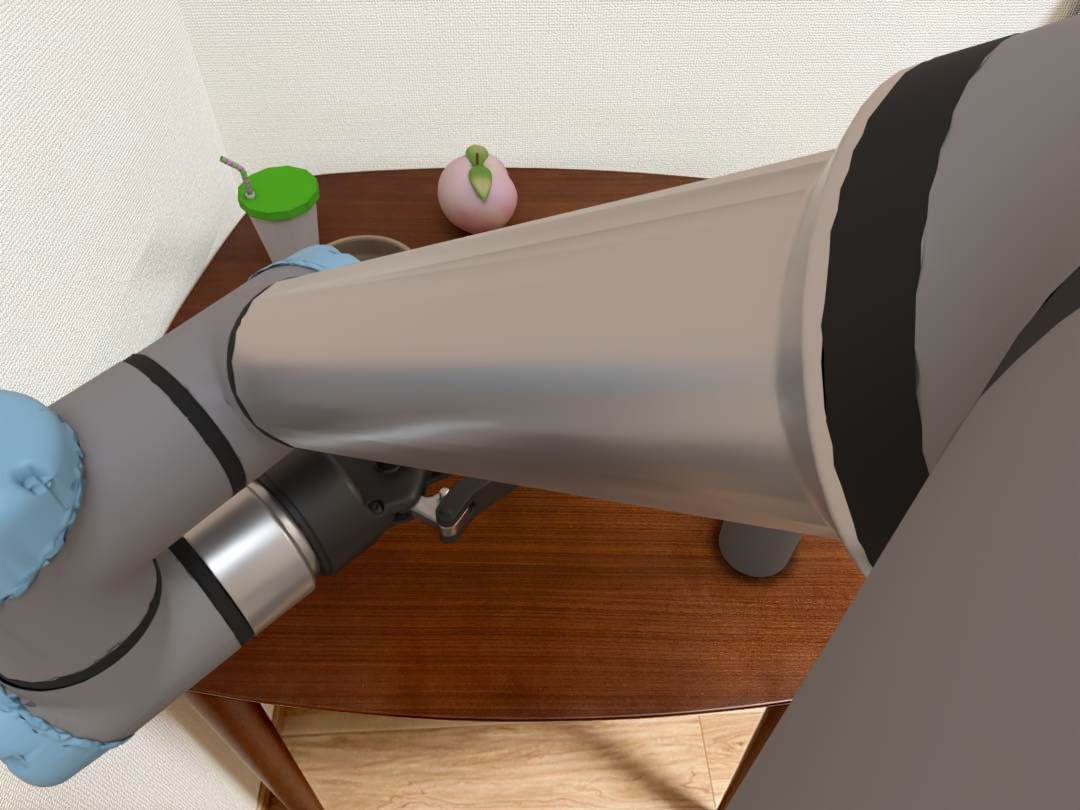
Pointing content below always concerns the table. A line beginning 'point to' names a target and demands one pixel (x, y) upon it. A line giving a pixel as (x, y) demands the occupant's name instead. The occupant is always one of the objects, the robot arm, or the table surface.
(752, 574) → the bottle
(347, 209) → the table surface
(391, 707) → the table surface
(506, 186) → the decorative fruit
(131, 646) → the robot arm
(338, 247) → the flower pot
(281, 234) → the cup
